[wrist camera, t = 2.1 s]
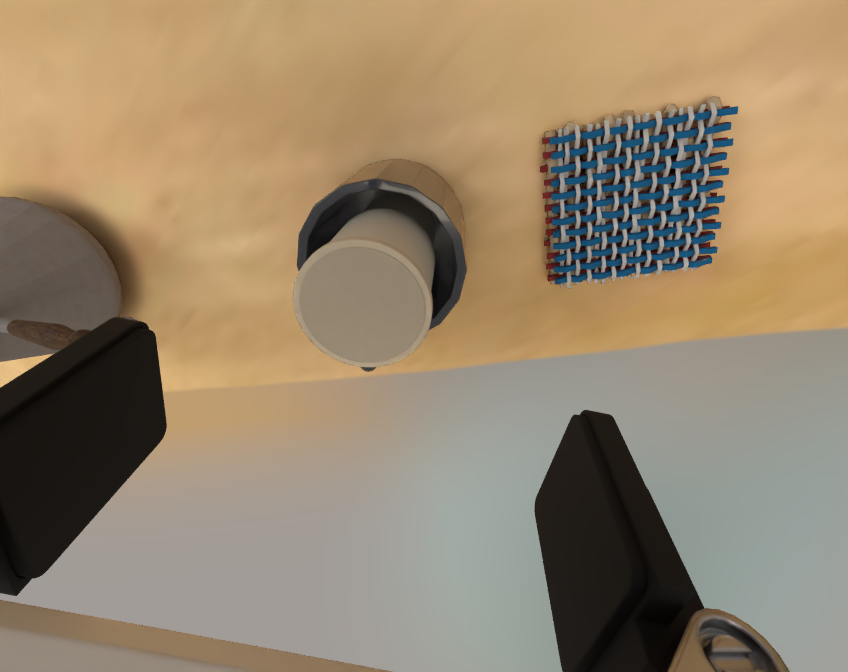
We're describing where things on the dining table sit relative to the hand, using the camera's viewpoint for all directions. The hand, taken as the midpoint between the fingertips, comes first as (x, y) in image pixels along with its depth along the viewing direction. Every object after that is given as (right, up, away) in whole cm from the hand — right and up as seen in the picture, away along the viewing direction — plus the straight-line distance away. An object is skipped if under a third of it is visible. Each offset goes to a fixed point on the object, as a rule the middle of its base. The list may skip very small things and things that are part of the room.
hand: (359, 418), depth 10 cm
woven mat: (+14, +11, +19) cm, 26 cm away
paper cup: (0, +9, +20) cm, 22 cm away
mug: (-1, +8, +21) cm, 23 cm away
